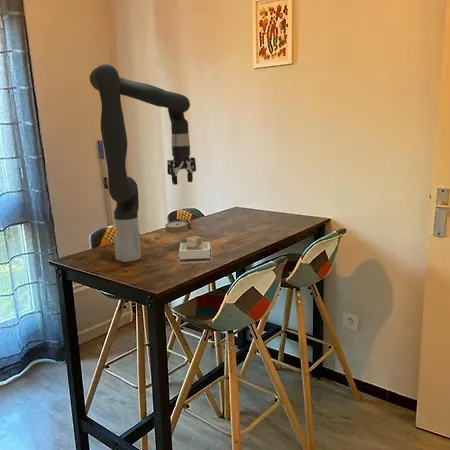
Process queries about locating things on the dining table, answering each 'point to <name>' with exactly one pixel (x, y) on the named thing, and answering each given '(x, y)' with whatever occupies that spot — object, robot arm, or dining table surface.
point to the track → (199, 260)
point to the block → (194, 243)
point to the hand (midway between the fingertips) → (182, 183)
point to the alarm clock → (178, 226)
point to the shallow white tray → (194, 252)
